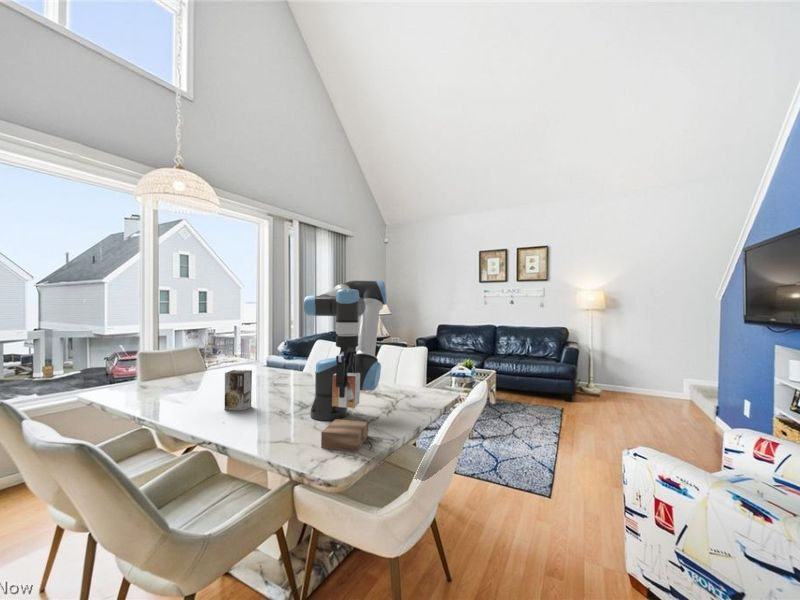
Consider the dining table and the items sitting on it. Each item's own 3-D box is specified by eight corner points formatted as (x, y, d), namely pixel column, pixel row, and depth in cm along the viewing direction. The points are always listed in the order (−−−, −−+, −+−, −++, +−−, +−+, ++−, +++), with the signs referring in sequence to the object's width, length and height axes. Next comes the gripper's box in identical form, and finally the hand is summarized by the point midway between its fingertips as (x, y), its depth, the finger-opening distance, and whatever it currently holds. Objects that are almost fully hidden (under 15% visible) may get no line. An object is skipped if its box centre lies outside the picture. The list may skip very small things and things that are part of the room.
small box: (331, 406, 106) (332, 374, 106) (337, 402, 112) (338, 371, 112) (355, 408, 105) (355, 375, 105) (359, 403, 110) (360, 372, 111)
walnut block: (335, 433, 115) (335, 419, 115) (367, 436, 113) (368, 421, 113) (321, 447, 103) (321, 431, 103) (357, 451, 101) (357, 435, 101)
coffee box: (251, 406, 144) (252, 370, 144) (243, 411, 138) (244, 373, 138) (232, 405, 145) (233, 369, 145) (223, 410, 139) (224, 372, 139)
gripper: (346, 332, 119) (345, 395, 118) (325, 337, 100) (324, 412, 100) (365, 333, 117) (364, 397, 117) (348, 337, 99) (347, 413, 98)
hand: (346, 403), depth 108 cm, fingers closed on small box, 6 cm apart
